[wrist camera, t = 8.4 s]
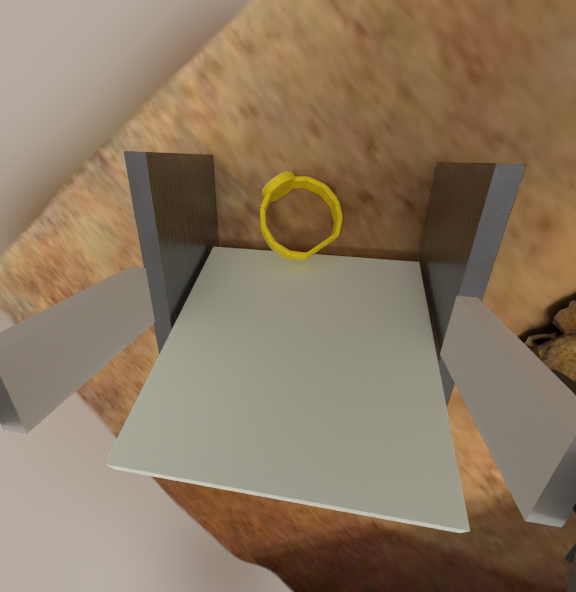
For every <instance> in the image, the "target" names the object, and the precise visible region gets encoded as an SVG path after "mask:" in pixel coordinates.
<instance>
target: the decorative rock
mask: <svg viewBox="0 0 576 592" xmlns="http://www.w3.org/2000/svg"><path fill="white" fill-rule="evenodd" d="M552 323H553V324H554V325H555V326H556V327H557V328H558V329H559V330H558V331H556V332H555V333H551V334H537V335H532V336H529V337H528V339H527V341H526V342H524V344H525V345H526V346H527V347H528V348H529V349H531V351H532V352H533V353H534V354H535V355H536V356H537V357H538V358H539V359H540V360H541V361H542V362H543V363H544V364H545V365H546V366H547V367H548V368H549V369H556V370H558V371H559V372H561V373H563V374H564V375H566V376H567V377H569V378H571V379H572V380H574V381H576V300H574V301H571V302H570V303H569V304H568V306H567V308H565V309H562V310H560V311H559V312H558V313H557V314H556V315H555V316H554V317H553V322H552ZM548 339H549V341H547V342H545V343H543V344H541V345H538V344H537V343H538V342H539V341H542V340H548Z"/></svg>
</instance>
